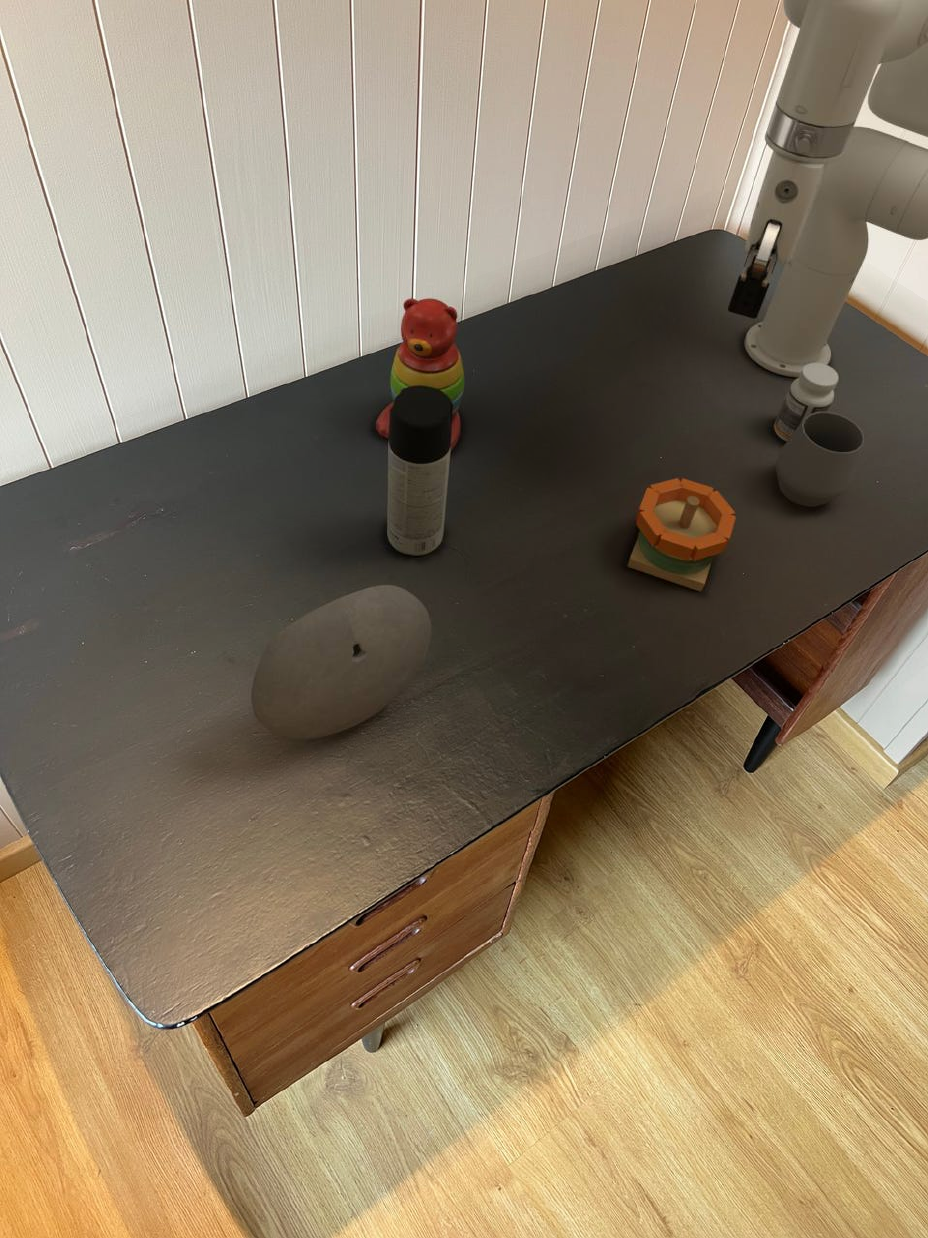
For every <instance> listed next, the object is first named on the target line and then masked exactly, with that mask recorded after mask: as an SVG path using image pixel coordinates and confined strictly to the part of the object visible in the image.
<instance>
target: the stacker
mask: <svg viewBox="0 0 928 1238" xmlns="http://www.w3.org/2000/svg"><path fill="white" fill-rule="evenodd" d="M698 505H699V499H698V498H697V497H694V496H690V497H688V498H687V501H686V502H684V501H681V500H678V499H677V500H674V501H670V502H666V503H663V504H659V505H656V506H655V509H654V511H653V512H654V513H655V514H656V516H657V517H658V519H659V520H660V521H661V523H662V524H663V525H664V527H665V528H666V529H667V530H669V531H672V532H675V533H678V534H681V535H684V536H687V537H690V538H693V539H694V538H698V537H701V536H704V535H708V534H711V533H715V531H716V528H717V525H716V523H715V522H714V521H713V520H712V518H711V517H710V516H709V515H708V513H707V512H706V511H705V509H704V508H703V507H700V506H698ZM656 549H657V546H654V547H652V546H651V544H650V543H649V542H648V540H647V539H646V537H645V536H644V535H643V533H642V532H641V530H640V529H639V531H638V536H637V539H636V542H635V545H634V547H633V549H632V552H631V554H630V558H629V560H628V563H627V567H628V568H630V569H633V570H636V571H638V572H642V573H645V574H647V575H651V576H654V577H656V578H659V579H661V580H666V581H668V582H671V583H674V584H677V585H679V586H682V587H686V588H689V589H692V590H695V591H698V592H700V593H701V592H702V591H703V589H704V587H705V585H706V581H707V578H708V574H709V572H710V568H711V565H712V562H713V560H714V559H715V556H716V554H715V555H712V556H709V557H706V558H702V559H699V560H696V561H693V560H692V558H691V557H690V559H689V561H688V560H685V559H682V558H679V557H676V556H673V555H670V554H667V553H664V552H661V551H658V550H656Z"/></svg>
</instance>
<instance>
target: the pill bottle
mask: <svg viewBox="0 0 928 1238" xmlns="http://www.w3.org/2000/svg"><path fill="white" fill-rule="evenodd" d="M838 382H839V374H838V371H836V370H835V369H834V368H833V367H832V366H829V365H825V364H821V363H810V364H807V365H805V366H804V367H803V369H802V371H801V373H800V375H799V377H796V378H795V379H794V380H793V382H792V383H791V384H790V386H789V388H788V391H787V393H786V396H785V397H784V400H783V402H782V405H781V407H780V409H779V411H778V414H777V416H776V419H775V421H774V424H773V428H774V431H775V433H776V435H777V436H778V438H780V439H781V440H783V441H784V442H786V443H787V441H788V440H789V438H790V437H791V436H792V434H793V433H794V432H795V430H796V429H797V428H798V426H799V425H800V424H801V422H802V421H803V420H804V419H805V418H806V417H807V416H808V415H809V414H812V413H815V412H829V410H830V407H831V406H832V404H833V402H834V399H835V391H834V390H835V388H836V386H837V384H838Z"/></svg>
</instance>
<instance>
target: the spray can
mask: <svg viewBox="0 0 928 1238" xmlns="http://www.w3.org/2000/svg"><path fill="white" fill-rule="evenodd" d="M393 402H394V404H393V407H392V408H391V409H390V418H389V439H388V444H387V448H388V449H387V457H388V458H387V511H386V512H387V514H386V515H387V516H386V518H387V519H386V525H387V526H386V529H387V530H386V534H387V538H388V539H387V540H388V542H389V543H390V545H391V547H392V548H394V549H395V550H396V551H397V552H399V553H401V554H403V555H407V556H412V557H413V556H414V557H416V556H418V557H420V556H427V555H428V554H431V553H432V552H433V551H435V550H436V549H437V548H438V547H439V546H440V545H441V544H442V541H443V537H444V532H445V519H446V509H447V508H446V507H447V506H446V505H447V496H448V495H447V494H448V484H449V473H450V472H449V471H450V461H451V452H452V451H451V435H452V416H453V403H452V401H451V399H450V398H449V397H448V396H447V395H446V394H445V393H444V392H442V391H441V390H439V389H436V388H433V387H429V386H424V385H417V386H411V387H407V388H404V389H402V390H401V392H400V394H399V395H397V396H396V398H395V400H393Z"/></svg>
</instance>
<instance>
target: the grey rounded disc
mask: <svg viewBox="0 0 928 1238" xmlns="http://www.w3.org/2000/svg"><path fill="white" fill-rule="evenodd" d="M431 639H432V621H431V618H430V615H429V612H428V610H427V608H426V606H425V605H424V604H423V602H421V600H420V599H419V598H417V597H416V596H415V595H414V594H412V593H411V592H410V591H408V590H406V589H405V588H402V587H400V586H397V585H394V584H380V585H374V586H371V587H367V588H363V589H360V590H357V591H355V592H351V593H349V594H346V595H343V596H342V597H339V598H337V599H334V600H333V601H330V602H328V603H325V604H324V605H322V606H320V607H318V608H316V609H314V610H311V611H310V612H308V613H306V614H305V615H302V616H301V617H300V618H298V619H297V620H295V621H293V622H292V623H290V624H289V625H287V626H286V627H284V628H283V629H282V630H280V631H279V632H278V633H276V634H275V635H274V636H273V637H272V638H271V639H270V640H269V641H268V643H267V644H266V646H265V648H264V650H263V652H262V655H261V657H260V658H259V661H258V664H257V667H256V670H255V674H254V677H253V680H252V684H251V685H252V686H251V692H250V693H251V694H250V700H251V707H252V710H253V713H254V716H255V718H256V720H257V721H258V722H259V724H260V725H261V726H262V727H263V728H264V729H266V730H267V731H268V732H270V733H271V734H273V735H276V736H278V737H282V738H285V739H292V740H310V739H319V738H324V737H327V736H331V735H334V734H335V735H336V734H338V733H341V732H344V731H346V730H349V729H351V728H353V727H355V726H357V725H359V724H361V723H363V722H365V721H366V720H368V719H370V718H372V717H373V716H375V715H376V714H377V713H379V712H380V711H382V710H383V709H384V708H386V707H388V705H390V704H391V703H392V702H394V700H396V699H397V698H398V697H399V696H400V695H401V694H402V693H403V692H404V691H405V690H406V689H407V687H408V686H410V684H412V681H413V680H414V679H415V678H416V676H417V675H418V673H419V671H420V670H421V668H422V667H423V665H424V662H425V660H426V658H427V655H428V653H429V649H430V644H431Z"/></svg>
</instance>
